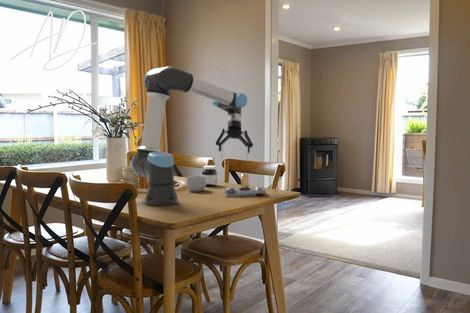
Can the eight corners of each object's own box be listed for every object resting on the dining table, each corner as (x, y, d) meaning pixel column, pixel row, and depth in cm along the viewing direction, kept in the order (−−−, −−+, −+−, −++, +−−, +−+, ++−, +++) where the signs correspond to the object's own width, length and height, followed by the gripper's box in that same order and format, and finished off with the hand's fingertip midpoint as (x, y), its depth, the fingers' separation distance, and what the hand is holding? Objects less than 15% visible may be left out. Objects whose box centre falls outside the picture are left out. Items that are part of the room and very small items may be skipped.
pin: (241, 195, 210) (241, 174, 209) (240, 194, 214) (240, 173, 213) (249, 195, 211) (249, 174, 210) (247, 194, 215) (247, 173, 214)
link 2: (236, 196, 207) (236, 189, 207) (233, 193, 217) (233, 186, 217) (265, 196, 209) (265, 189, 209) (261, 192, 219) (261, 186, 219)
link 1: (226, 197, 206) (226, 190, 206) (224, 193, 216) (224, 186, 216) (256, 196, 208) (256, 189, 208) (252, 192, 218) (252, 186, 218)
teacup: (202, 193, 218) (202, 178, 218) (183, 192, 220) (183, 177, 220) (209, 188, 232) (209, 174, 231) (191, 188, 234) (191, 174, 233)
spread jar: (212, 187, 235) (211, 167, 234) (194, 186, 239) (194, 166, 238) (220, 184, 246) (220, 165, 245) (203, 183, 250) (203, 164, 249)
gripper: (255, 128, 234) (255, 161, 224) (211, 125, 231) (210, 158, 221) (257, 121, 227) (258, 155, 217) (212, 118, 224) (211, 152, 215)
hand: (234, 157), depth 219 cm, fingers open, 13 cm apart
